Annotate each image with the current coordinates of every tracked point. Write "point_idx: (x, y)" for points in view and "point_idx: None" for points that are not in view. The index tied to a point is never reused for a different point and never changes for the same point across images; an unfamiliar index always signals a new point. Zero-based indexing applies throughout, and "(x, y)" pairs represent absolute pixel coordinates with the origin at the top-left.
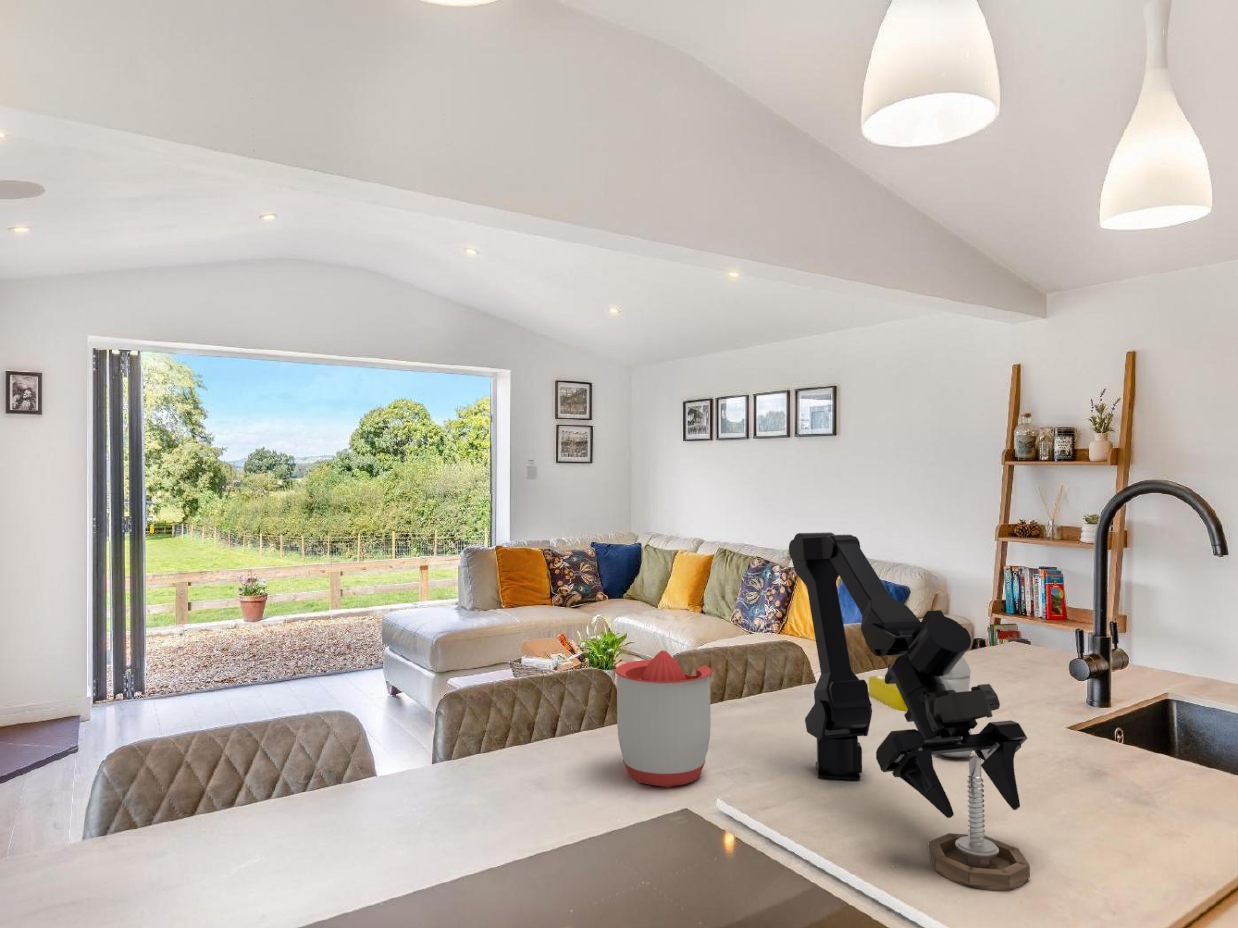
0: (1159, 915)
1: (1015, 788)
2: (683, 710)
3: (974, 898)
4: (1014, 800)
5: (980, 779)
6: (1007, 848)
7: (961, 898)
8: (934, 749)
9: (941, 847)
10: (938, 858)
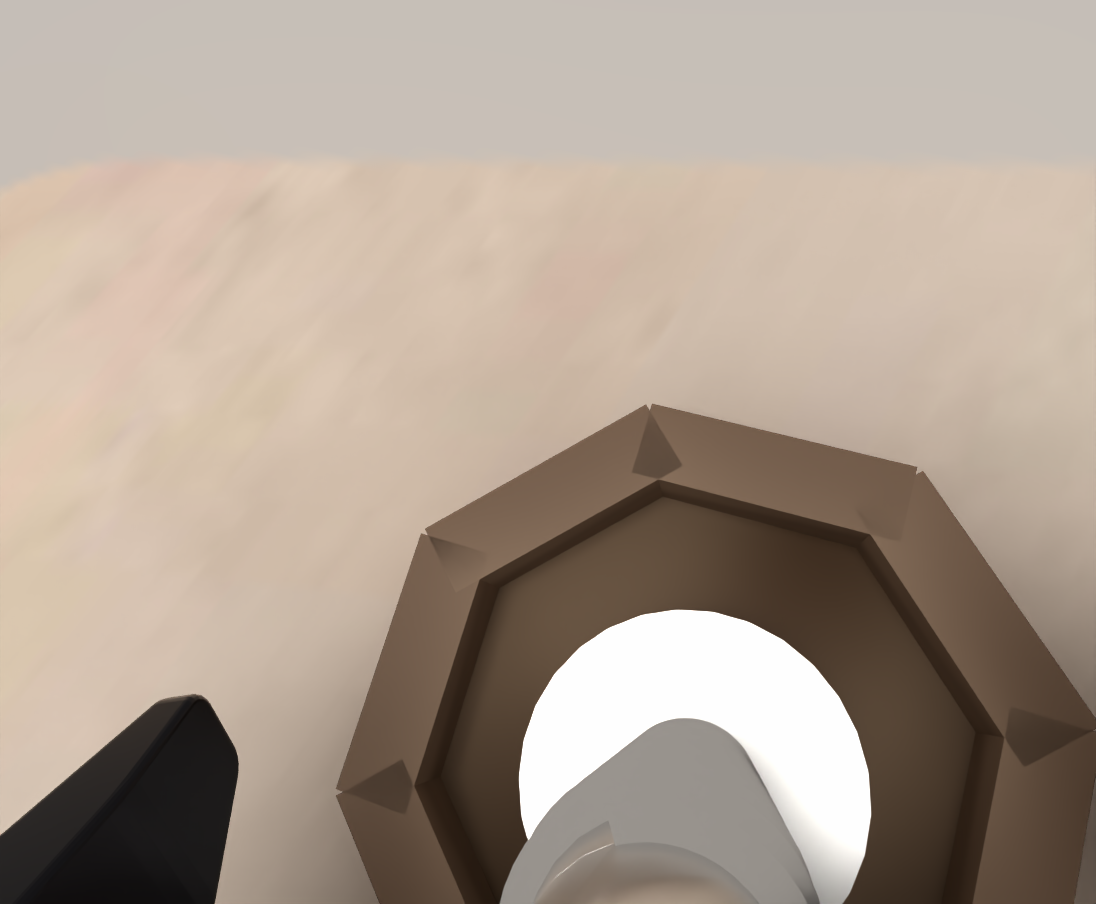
0: (79, 182)
1: (3, 853)
2: None
3: (924, 369)
4: (172, 748)
5: (600, 826)
6: (414, 804)
7: (1012, 374)
8: None
9: None
10: (1082, 708)
